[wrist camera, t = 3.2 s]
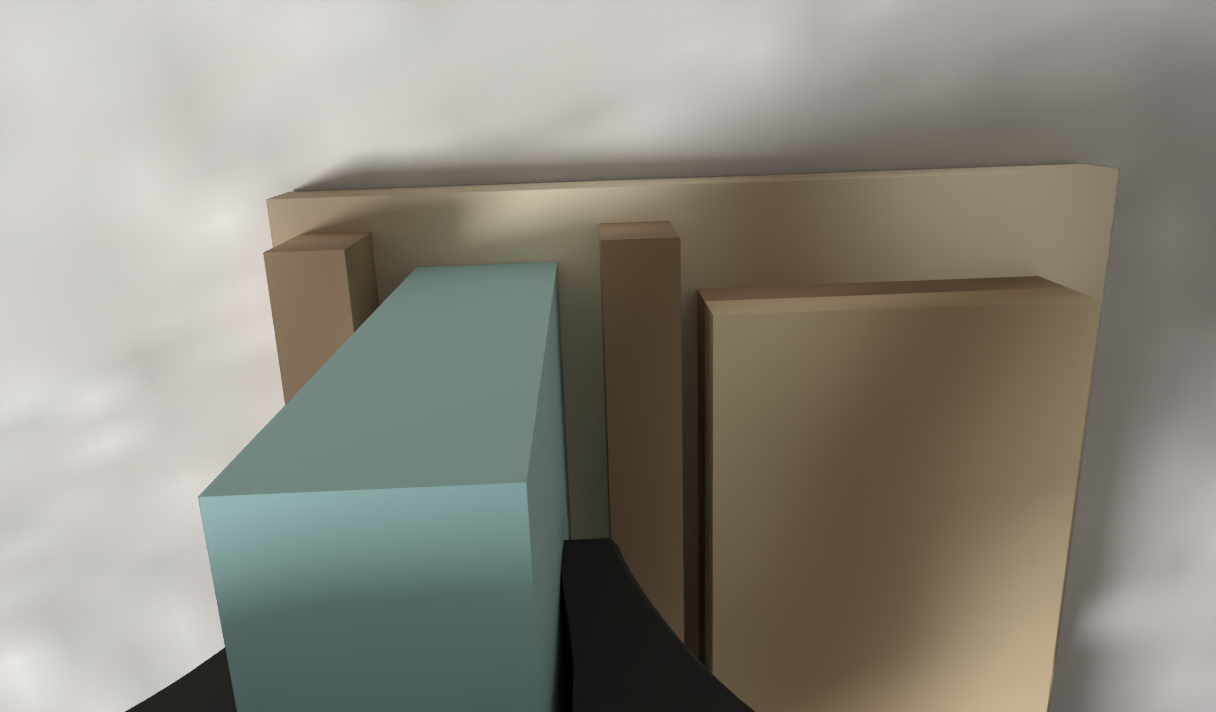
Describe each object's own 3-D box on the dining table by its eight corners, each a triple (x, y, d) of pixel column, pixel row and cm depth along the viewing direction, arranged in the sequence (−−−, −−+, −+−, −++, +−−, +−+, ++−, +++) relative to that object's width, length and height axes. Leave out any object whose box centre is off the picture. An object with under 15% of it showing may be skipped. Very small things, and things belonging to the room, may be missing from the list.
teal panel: (556, 261, 13) (526, 481, 5) (581, 731, 15) (581, 1327, 8) (416, 267, 13) (197, 497, 5) (462, 737, 15) (351, 1339, 8)
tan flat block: (1038, 275, 13) (1067, 287, 12) (994, 684, 15) (1016, 715, 14) (697, 288, 13) (704, 301, 12) (698, 698, 15) (704, 731, 14)
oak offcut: (1067, 286, 12) (1100, 300, 11) (1016, 715, 14) (1041, 751, 13) (704, 301, 12) (713, 315, 11) (704, 731, 14) (712, 768, 13)
